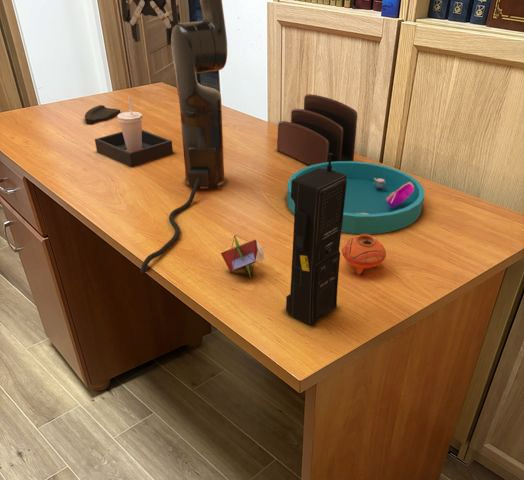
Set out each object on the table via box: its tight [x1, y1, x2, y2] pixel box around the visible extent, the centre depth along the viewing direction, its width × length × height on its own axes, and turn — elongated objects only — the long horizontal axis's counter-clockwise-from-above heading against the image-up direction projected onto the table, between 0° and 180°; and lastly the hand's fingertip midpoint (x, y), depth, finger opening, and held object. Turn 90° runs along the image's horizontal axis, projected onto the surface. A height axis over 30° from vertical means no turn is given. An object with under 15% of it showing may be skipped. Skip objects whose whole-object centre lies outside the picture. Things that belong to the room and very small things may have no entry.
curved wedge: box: [84, 104, 121, 125], centre depth 166 cm, size 8×14×2 cm, turn 158°
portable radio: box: [285, 153, 347, 326], centre depth 79 cm, size 8×6×25 cm
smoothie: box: [116, 96, 144, 152], centre depth 139 cm, size 6×6×14 cm
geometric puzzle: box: [220, 234, 265, 278], centre depth 95 cm, size 7×7×8 cm
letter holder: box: [276, 93, 358, 166], centre depth 137 cm, size 10×20×14 cm, turn 37°
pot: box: [341, 234, 387, 275], centre depth 97 cm, size 8×8×7 cm
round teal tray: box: [286, 160, 425, 235], centre depth 118 cm, size 30×30×6 cm
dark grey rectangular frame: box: [94, 129, 174, 168], centre depth 142 cm, size 16×14×3 cm
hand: (153, 42), depth 136 cm, fingers open, 8 cm apart
